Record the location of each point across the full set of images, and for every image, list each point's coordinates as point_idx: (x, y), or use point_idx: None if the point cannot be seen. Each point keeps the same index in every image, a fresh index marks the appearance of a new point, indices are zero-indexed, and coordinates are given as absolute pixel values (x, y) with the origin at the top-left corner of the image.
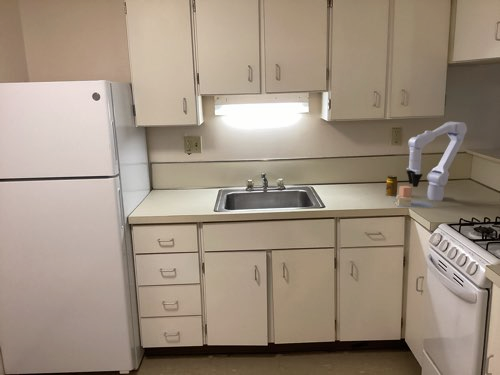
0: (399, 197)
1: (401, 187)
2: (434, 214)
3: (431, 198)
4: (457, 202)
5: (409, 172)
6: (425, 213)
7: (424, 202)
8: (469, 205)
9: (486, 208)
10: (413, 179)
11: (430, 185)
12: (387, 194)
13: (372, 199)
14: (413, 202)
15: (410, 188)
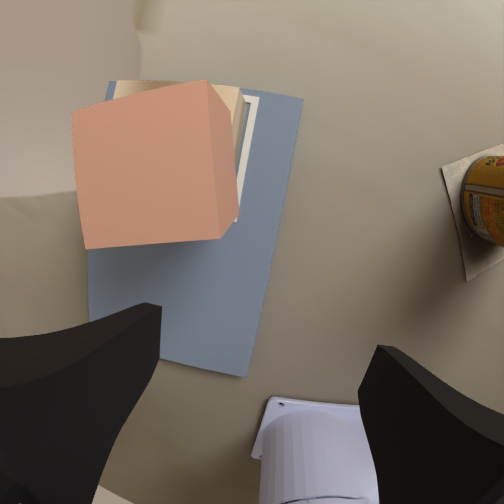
0: (130, 85)
1: (142, 95)
2: (10, 268)
3: (290, 422)
4: (249, 486)
5: (472, 485)
6: (19, 229)
7: (219, 345)
8: (190, 491)
9: (146, 499)
10: (42, 343)
11: (319, 494)
12: (493, 157)
13: (421, 14)
14: (227, 262)
15: (89, 222)
